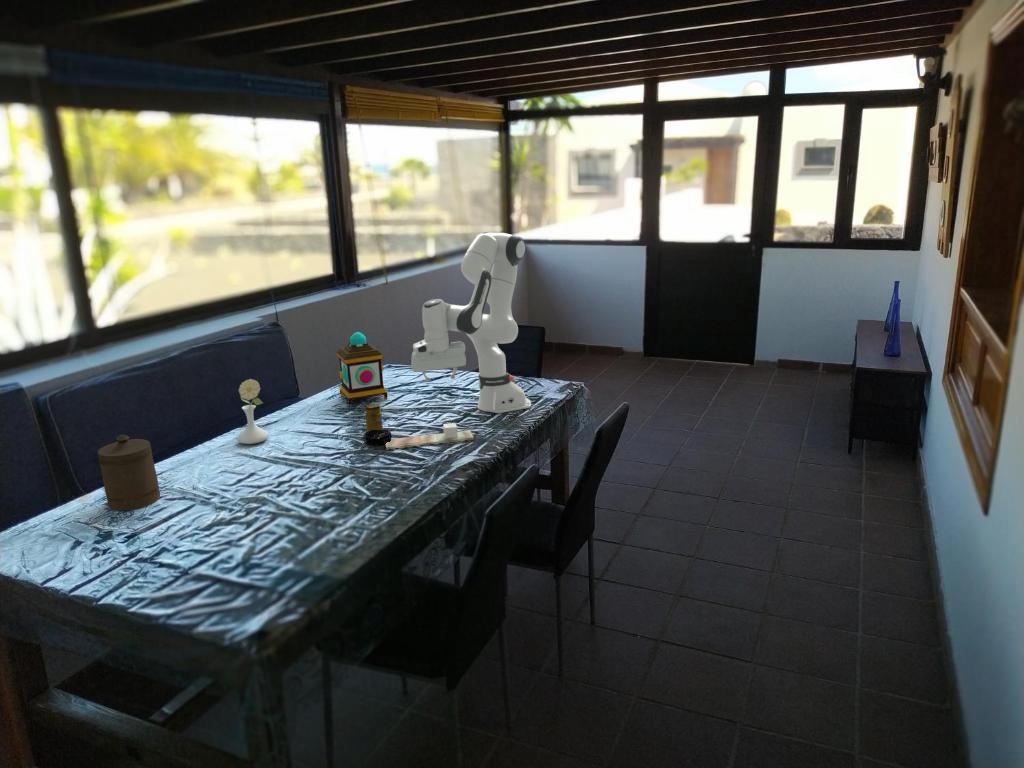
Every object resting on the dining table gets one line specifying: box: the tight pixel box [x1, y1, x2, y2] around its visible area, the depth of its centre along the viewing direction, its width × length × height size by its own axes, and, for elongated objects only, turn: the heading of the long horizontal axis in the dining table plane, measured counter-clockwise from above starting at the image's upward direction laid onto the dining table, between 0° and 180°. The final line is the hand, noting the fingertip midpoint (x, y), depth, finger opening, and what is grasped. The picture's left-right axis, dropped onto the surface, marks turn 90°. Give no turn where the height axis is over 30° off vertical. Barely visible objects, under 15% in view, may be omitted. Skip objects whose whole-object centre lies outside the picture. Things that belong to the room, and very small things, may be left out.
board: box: [385, 429, 475, 451], centre depth 275 cm, size 32×8×1 cm, turn 103°
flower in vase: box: [236, 378, 270, 445], centre depth 279 cm, size 13×11×25 cm
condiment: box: [362, 403, 384, 437], centre depth 281 cm, size 7×8×12 cm
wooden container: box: [97, 434, 161, 512], centre depth 232 cm, size 15×15×22 cm
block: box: [442, 422, 458, 438], centre depth 276 cm, size 4×4×4 cm
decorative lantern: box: [336, 331, 388, 406], centre depth 327 cm, size 20×20×30 cm
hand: (440, 379), depth 277 cm, fingers open, 8 cm apart
